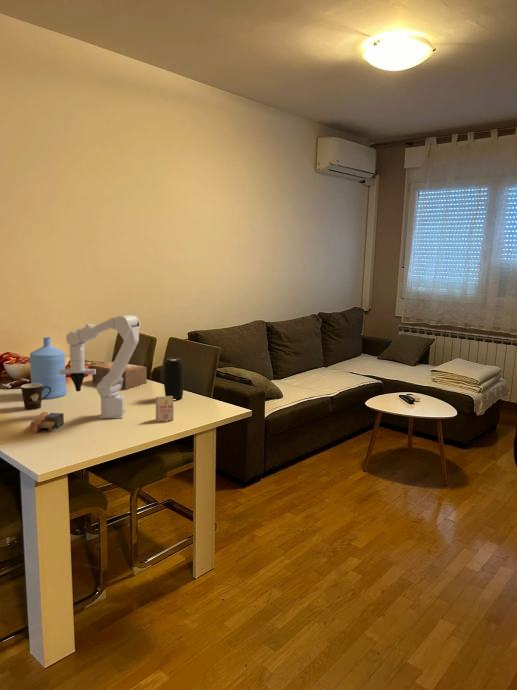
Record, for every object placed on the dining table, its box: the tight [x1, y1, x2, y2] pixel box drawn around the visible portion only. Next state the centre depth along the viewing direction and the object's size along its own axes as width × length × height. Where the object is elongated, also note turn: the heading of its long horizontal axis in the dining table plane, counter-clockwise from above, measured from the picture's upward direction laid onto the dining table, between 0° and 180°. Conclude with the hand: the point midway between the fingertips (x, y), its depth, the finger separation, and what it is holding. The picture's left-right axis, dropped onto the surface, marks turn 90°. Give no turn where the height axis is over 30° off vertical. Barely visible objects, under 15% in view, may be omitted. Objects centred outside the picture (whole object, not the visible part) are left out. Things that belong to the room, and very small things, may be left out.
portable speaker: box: [163, 356, 185, 400], centre depth 237 cm, size 9×9×20 cm
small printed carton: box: [155, 396, 174, 422], centre depth 204 cm, size 4×7×10 cm, turn 108°
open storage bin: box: [45, 412, 65, 429], centre depth 194 cm, size 5×5×4 cm
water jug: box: [29, 336, 68, 400], centre depth 238 cm, size 16×16×28 cm
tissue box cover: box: [91, 361, 148, 391], centre depth 265 cm, size 26×14×10 cm, turn 57°
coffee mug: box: [20, 383, 51, 411], centre depth 218 cm, size 12×9×10 cm
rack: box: [30, 411, 55, 434], centre depth 193 cm, size 7×14×4 cm, turn 6°
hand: (78, 390), depth 212 cm, fingers closed
